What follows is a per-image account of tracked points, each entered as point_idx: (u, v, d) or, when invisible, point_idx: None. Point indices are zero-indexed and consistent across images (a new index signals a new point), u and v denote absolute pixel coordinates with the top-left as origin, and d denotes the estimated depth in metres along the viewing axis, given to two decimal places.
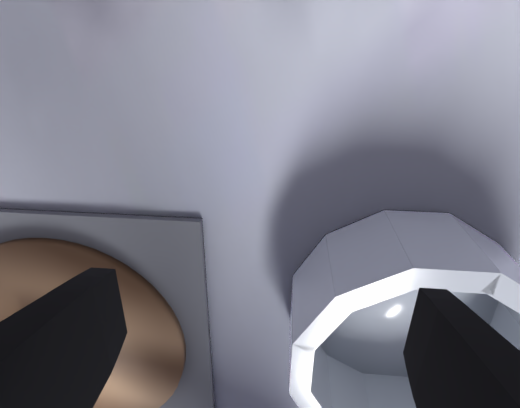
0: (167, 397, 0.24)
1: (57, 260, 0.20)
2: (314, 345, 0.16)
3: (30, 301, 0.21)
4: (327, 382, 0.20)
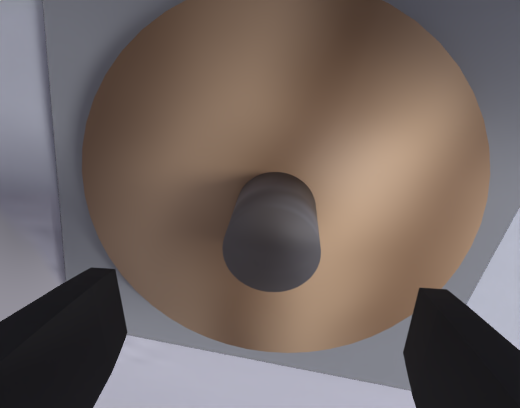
0: (444, 56, 0.11)
1: (104, 150, 0.13)
2: None
3: (182, 223, 0.14)
4: None
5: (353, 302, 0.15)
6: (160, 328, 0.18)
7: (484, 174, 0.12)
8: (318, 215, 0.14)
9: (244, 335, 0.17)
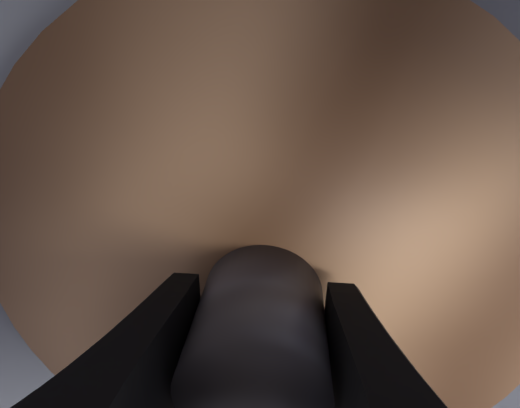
0: None
1: (6, 211, 0.09)
2: None
3: (129, 309, 0.10)
4: None
5: None
6: None
7: None
8: None
9: None
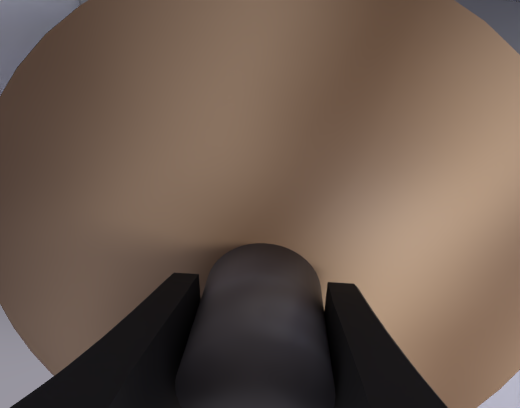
0: None
1: (7, 212, 0.09)
2: None
3: (130, 309, 0.10)
4: None
5: None
6: None
7: None
8: (324, 301, 0.10)
9: None
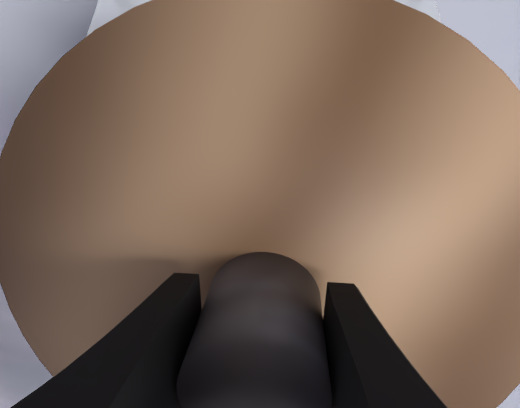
0: (509, 91, 0.07)
1: (22, 222, 0.09)
2: None
3: None
4: None
5: None
6: None
7: None
8: None
9: None
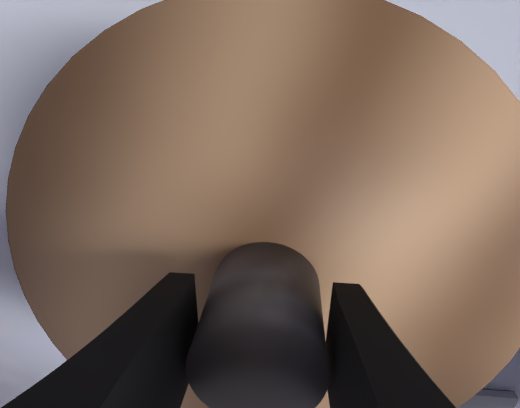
0: (500, 90, 0.08)
1: (35, 214, 0.10)
2: None
3: None
4: None
5: None
6: None
7: None
8: (323, 296, 0.10)
9: None
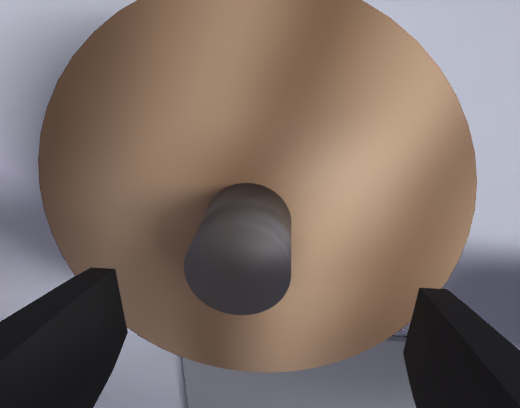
0: (422, 55, 0.10)
1: (62, 162, 0.12)
2: None
3: (150, 238, 0.13)
4: None
5: (336, 319, 0.14)
6: None
7: (471, 182, 0.12)
8: (294, 228, 0.13)
9: (222, 354, 0.16)
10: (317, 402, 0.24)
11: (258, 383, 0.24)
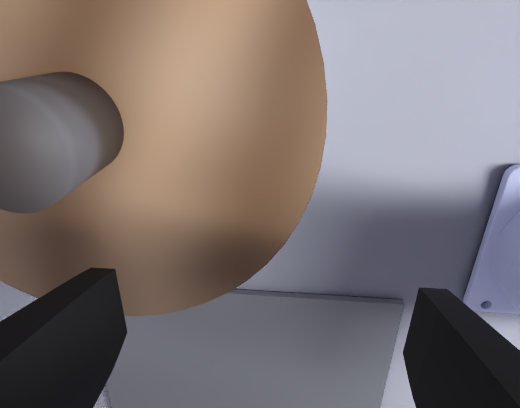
0: None
1: None
2: None
3: None
4: None
5: (196, 248, 0.12)
6: None
7: (317, 64, 0.10)
8: (128, 131, 0.11)
9: None
10: (238, 369, 0.23)
11: (173, 348, 0.22)
